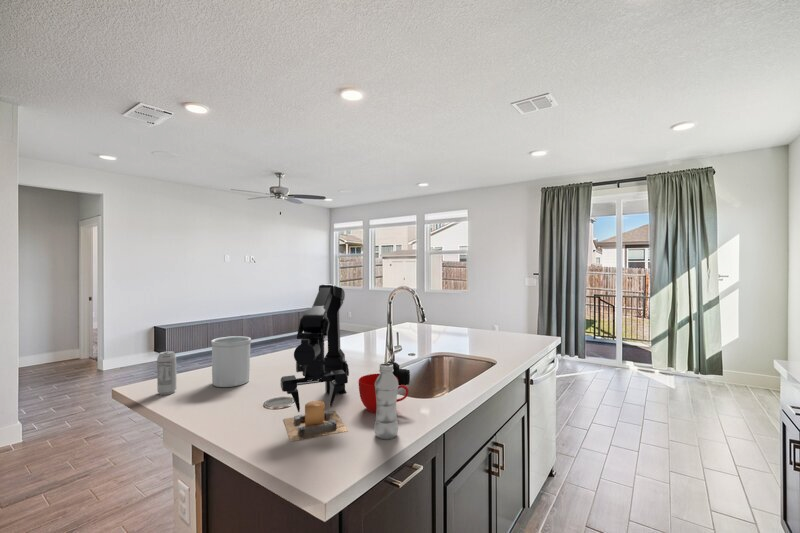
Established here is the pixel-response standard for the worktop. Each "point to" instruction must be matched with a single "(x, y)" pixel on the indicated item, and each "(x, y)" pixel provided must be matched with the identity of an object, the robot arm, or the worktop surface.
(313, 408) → the cap
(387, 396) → the plastic bottle
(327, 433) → the socket
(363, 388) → the ceramic cup
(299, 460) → the worktop surface
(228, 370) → the utensil holder
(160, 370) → the energy drink can
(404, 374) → the film camera
